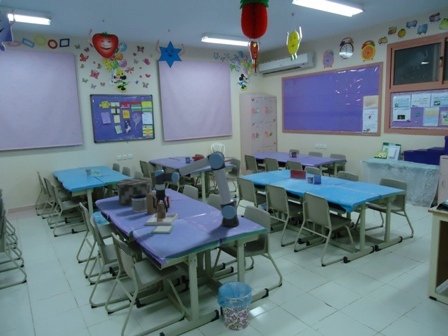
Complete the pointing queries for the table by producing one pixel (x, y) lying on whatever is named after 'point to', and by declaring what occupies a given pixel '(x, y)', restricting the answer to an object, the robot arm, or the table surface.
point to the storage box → (133, 189)
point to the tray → (167, 220)
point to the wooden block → (151, 203)
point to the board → (162, 230)
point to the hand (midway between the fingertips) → (162, 216)
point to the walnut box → (161, 211)
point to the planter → (139, 203)
